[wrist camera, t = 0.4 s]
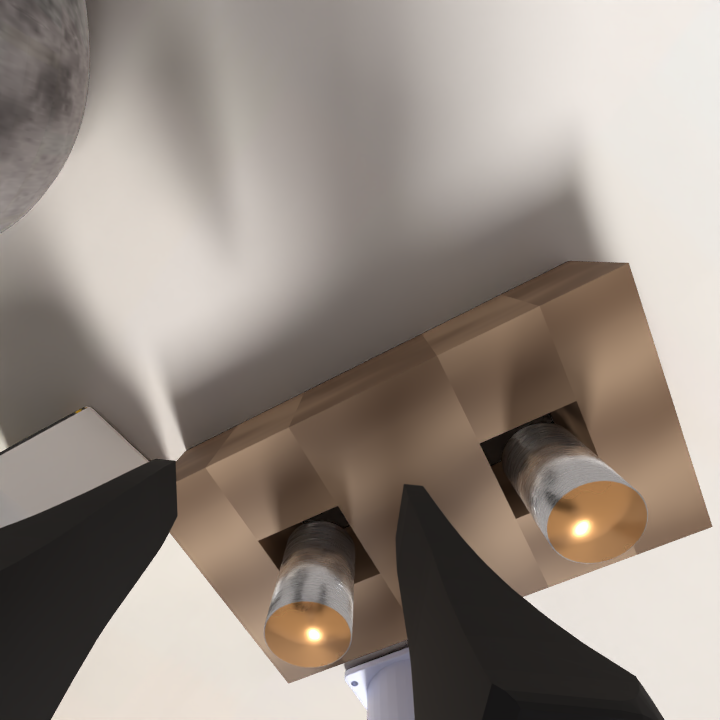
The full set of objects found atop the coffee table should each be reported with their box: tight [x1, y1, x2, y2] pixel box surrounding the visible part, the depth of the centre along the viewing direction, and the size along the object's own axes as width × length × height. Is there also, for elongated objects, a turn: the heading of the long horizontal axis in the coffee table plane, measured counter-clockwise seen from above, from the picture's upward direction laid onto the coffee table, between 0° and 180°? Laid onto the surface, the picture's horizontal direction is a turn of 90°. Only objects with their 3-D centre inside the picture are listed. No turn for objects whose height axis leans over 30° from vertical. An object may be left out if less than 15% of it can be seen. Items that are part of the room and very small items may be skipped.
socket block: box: [170, 261, 712, 683], centre depth 20 cm, size 14×24×4 cm, turn 118°
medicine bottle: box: [0, 407, 149, 528], centre depth 17 cm, size 7×7×12 cm
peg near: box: [502, 423, 648, 564], centre depth 15 cm, size 4×4×4 cm
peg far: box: [264, 521, 355, 668], centre depth 17 cm, size 4×4×4 cm
